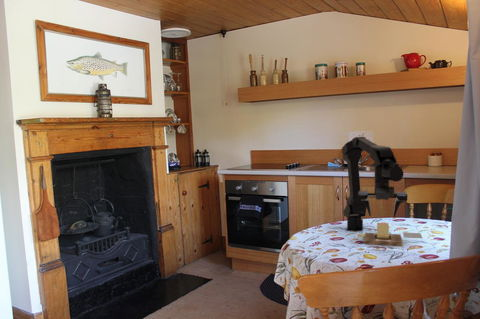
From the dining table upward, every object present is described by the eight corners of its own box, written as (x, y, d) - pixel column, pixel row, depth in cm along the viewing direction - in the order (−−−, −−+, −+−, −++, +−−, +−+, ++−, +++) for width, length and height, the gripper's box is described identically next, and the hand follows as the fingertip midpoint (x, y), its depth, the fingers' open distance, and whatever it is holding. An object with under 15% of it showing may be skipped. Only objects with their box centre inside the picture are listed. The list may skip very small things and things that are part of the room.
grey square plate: (404, 239, 169) (404, 237, 169) (402, 234, 177) (402, 232, 177) (422, 240, 167) (422, 238, 167) (420, 235, 175) (420, 233, 174)
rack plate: (364, 246, 162) (364, 240, 161) (365, 238, 173) (365, 232, 173) (402, 248, 157) (402, 242, 157) (400, 240, 169) (400, 234, 168)
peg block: (377, 244, 164) (377, 225, 163) (377, 241, 168) (376, 222, 167) (388, 245, 162) (388, 225, 162) (388, 242, 167) (388, 223, 166)
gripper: (357, 180, 159) (357, 220, 160) (408, 181, 153) (408, 222, 155) (358, 177, 170) (358, 214, 171) (406, 177, 164) (406, 215, 165)
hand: (382, 216), depth 165 cm, fingers open, 9 cm apart
